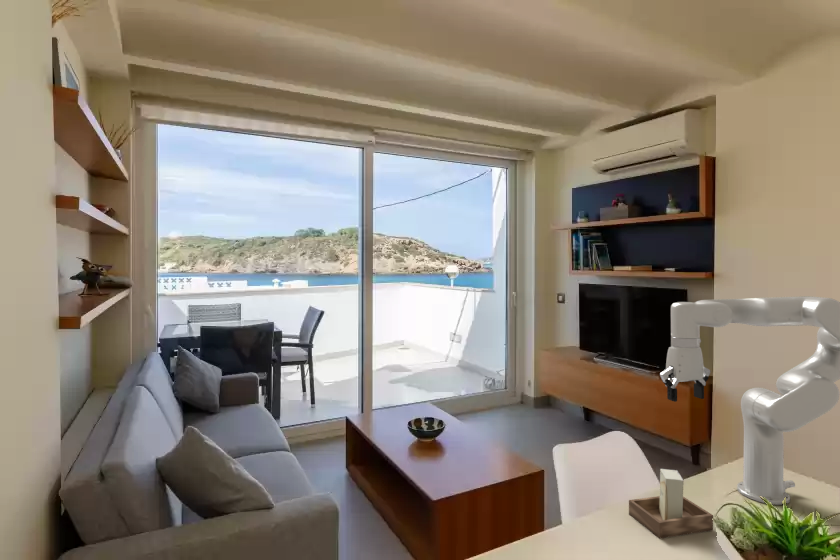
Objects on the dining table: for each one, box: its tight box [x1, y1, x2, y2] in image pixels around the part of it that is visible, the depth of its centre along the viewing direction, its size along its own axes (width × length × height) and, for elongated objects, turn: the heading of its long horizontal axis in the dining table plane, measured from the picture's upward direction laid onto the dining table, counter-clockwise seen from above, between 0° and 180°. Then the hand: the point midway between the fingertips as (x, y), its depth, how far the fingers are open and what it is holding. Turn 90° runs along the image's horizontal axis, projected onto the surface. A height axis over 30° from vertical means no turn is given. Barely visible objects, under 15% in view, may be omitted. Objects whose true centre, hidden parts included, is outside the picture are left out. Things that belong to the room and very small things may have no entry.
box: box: [628, 495, 714, 539], centre depth 121 cm, size 16×12×4 cm
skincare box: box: [659, 468, 684, 520], centre depth 122 cm, size 6×4×12 cm
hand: (685, 399), depth 138 cm, fingers open, 9 cm apart
